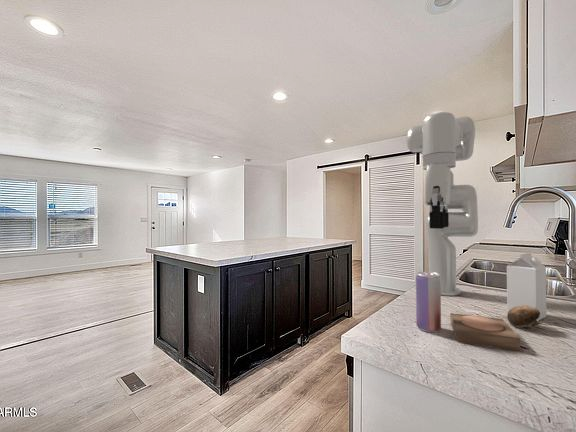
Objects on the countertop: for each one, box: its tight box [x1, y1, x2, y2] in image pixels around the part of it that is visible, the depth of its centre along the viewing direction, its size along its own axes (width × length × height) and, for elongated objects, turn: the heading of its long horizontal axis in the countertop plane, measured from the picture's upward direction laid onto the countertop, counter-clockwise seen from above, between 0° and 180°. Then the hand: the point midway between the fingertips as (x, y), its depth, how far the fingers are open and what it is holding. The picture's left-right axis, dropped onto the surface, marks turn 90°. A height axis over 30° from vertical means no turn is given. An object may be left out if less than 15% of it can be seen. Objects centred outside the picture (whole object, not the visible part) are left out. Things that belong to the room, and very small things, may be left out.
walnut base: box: [449, 312, 521, 352], centre depth 69 cm, size 12×12×4 cm
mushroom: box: [506, 306, 542, 329], centre depth 74 cm, size 8×8×6 cm
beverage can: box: [415, 271, 442, 334], centre depth 74 cm, size 6×6×15 cm
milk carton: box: [506, 251, 547, 322], centre depth 82 cm, size 7×7×19 cm
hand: (439, 227), depth 71 cm, fingers open, 9 cm apart
